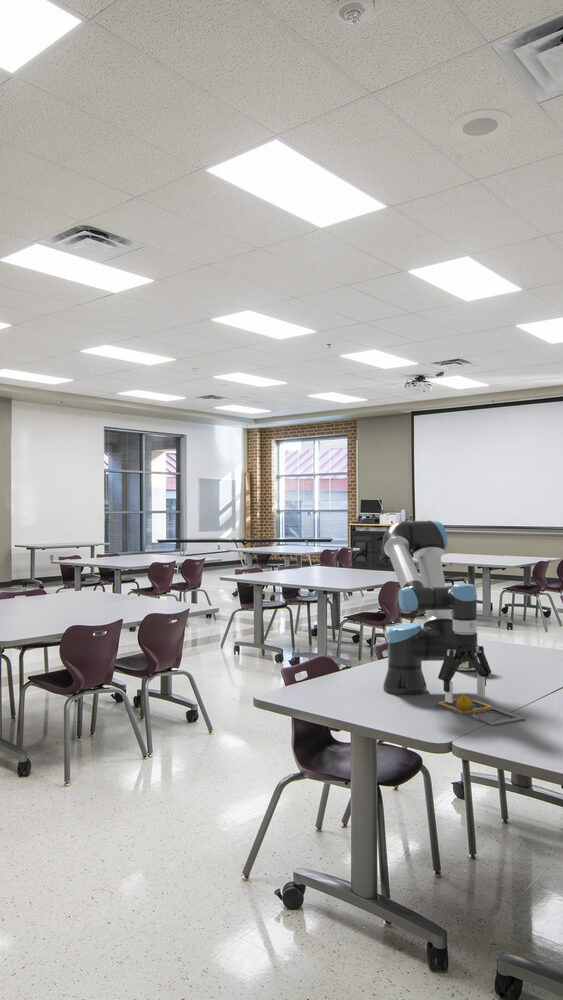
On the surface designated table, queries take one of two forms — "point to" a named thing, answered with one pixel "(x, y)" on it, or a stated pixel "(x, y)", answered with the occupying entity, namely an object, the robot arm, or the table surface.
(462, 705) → the yellow cone
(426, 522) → the robot arm
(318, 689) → the table surface
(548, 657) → the table surface
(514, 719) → the orange gray double frame
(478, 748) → the table surface
